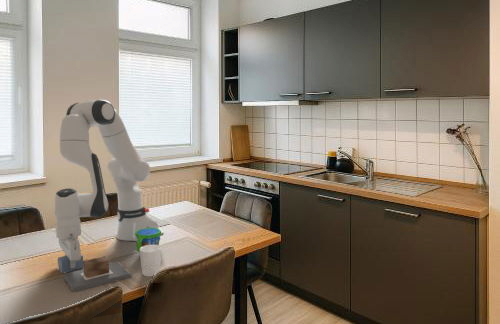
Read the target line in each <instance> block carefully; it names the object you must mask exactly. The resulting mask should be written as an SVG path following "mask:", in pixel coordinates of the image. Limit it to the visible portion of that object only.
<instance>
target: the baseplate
mask: <svg viewBox="0 0 500 324" xmlns="http://www.w3.org/2000/svg"><path fill="white" fill-rule="evenodd" d="M130 277H131V273H130V272H129V271H128V270H127V269H126V268H125V267H124V266H123V265H122V264H121V263H120V262H118V261H114V262H109V273H106V274H102V275H98V276H94V277H90V278H87V277H86V276H85V275H84V270H83V269H80V270H79V269H77V270H73V271H70V272H66V273H63V278H64V280H65V281H66V283H67V285H68V286H69V288H70V289H71V290H72V292H73V293H74V291H75V292H78V291H82V290H85V289H90V288H94V287H98V286H102V285H104V284H110V283H113V282H117V281H122V280H125V279H129V278H130Z"/></svg>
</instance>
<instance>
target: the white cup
mask: <svg viewBox="0 0 500 324" xmlns="http://www.w3.org/2000/svg"><path fill="white" fill-rule="evenodd" d="M161 255H162V247H161V245H160V244H159V245H145V246H142V247H141V248H140V252H139V258H140V267H141V275H143V276H145V277H154V276H153V275H154V274H155V273H157V272H158V271H160V272H161V263H162V262H161V259H162V258H161Z"/></svg>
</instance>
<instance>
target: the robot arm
mask: <svg viewBox="0 0 500 324" xmlns="http://www.w3.org/2000/svg"><path fill="white" fill-rule="evenodd" d="M65 114H66V115H65V116H63V119H62V120H61V124H60V130H59V131H60V132H59V151H60V152H59V153H60V155H61V156H62V157H63V159H64V160H66V161H68V162H69V163H71V164H75V165H77V166H80V167H82V168H84V169H86V171H88V173H89V177H90V182H91V187H92V192H91V193H90V192H86V193H85V192H82V193H81V192H78V191H77V190H76V189H74V188H71V187H70V188H62V189H60V190H57V192H56V193H55V196H54V216H55V219H56V221H55V236H56V238H57V239H58V244H59V247H60V248H61V250H62V251H63V253H64V256H67V257H68V258H69V260H70V268H75V267H76V265H75V263H76V261H79V260H80V259H81V255H82V253H81V244H80V240H79V237H80V236H81V235H82V226H81V225H82V224H81V219H80V218H87V217H88V218H101V217H103V216H104V215H105V214H106V213H107V212H108V210H109V201H108V198H107V193H106V190H105V185H104V179H103V174H102V169H101V163H100V161H99V158H98V155H97V154H96V153H93V152H94V151H92V149H91V147H90V146H91V145H90V128H91V127H98V129H99V132H100V135H101V137H102V139H103V143H104V145H105V148H106V149H107V151H108V153H109V154H111V155H112V158H111V159H110V160H109V162H108V164H107V165H108V166H107V170H108V172H109V174H110V175H111V177H112V180H113V182H114V186H115V189H116V193H117V204H118V207H117V213H116V214H117V220H118V222H117V223H118V225H117V232H116V236H115V238H116V239H117V240H119V241H127V242H128V241H129V242H131V241H132V242H137V237H136V235H135V233H136V231H138V230H140V229H144V228H157V229H160V230H161V235H163V234H164V230H163V229H162V228H161V227H159V223H158V221H157V220H156V219H155V218H153V216H150V215H149V214H147V213H150V209H149V208H148V207H144V206H143V197H142V196H143V195H142V191H141V188H140V187H139V184H138V183H137V182H143V181H146V180H147V179H148V178H149V176H150V174H151V167H150V164H149V163H148V162H147V161H145V160H144V159H143V157H142V156H141V154H139V152H138V150H137V149H136V148H135V146H134V145H133V142H132V141H131V137H130V135H129V133H128V130H127V129H126V126H125V124H124V121H123V119H122V117H121V116H120V114H119V113H118V111H117V110H116V109H115V108H114V105H113V104H112V103H111V102H110V101H108V100H105V99H93V100H86V101H82V102H76V103H73V104H70V105H69V106H68V108H67V110H66V113H65ZM161 235H160V236H161Z"/></svg>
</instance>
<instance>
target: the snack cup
mask: <svg viewBox="0 0 500 324" xmlns="http://www.w3.org/2000/svg"><path fill="white" fill-rule="evenodd" d="M135 235H136V237H137V241H136V248H135V250H136V251H137V253H140V248H141V247H142V246H145V245H159V246H160V241H161V230H160V229H157V228H144V229H140V230H138V231H136V233H135Z"/></svg>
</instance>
